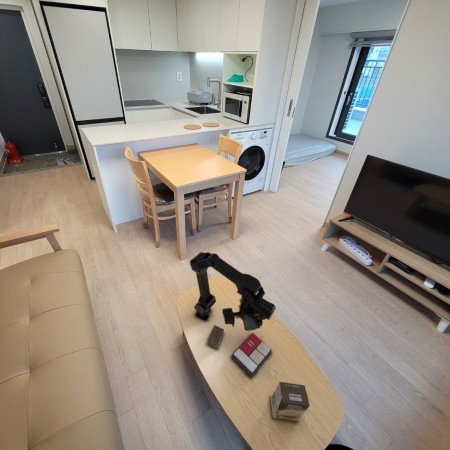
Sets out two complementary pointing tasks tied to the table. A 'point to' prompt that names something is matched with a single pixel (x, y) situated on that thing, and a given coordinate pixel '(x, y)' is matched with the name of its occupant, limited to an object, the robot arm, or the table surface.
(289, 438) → the table surface
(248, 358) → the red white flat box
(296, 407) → the coffee box
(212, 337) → the walnut block
